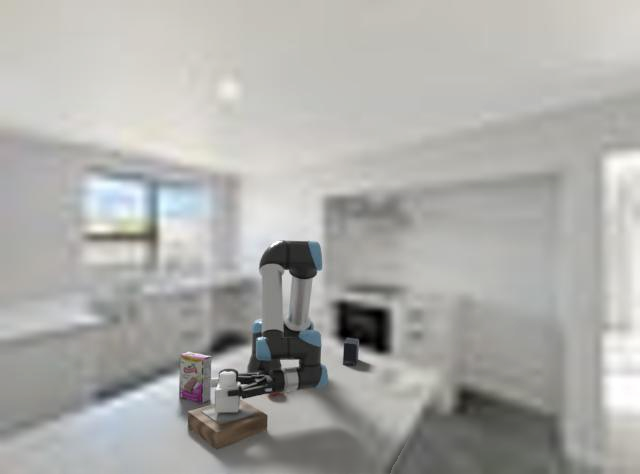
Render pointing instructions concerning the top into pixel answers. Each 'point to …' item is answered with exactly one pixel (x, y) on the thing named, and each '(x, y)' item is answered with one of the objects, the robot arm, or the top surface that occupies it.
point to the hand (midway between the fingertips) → (213, 388)
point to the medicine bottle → (226, 381)
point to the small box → (350, 351)
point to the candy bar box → (195, 377)
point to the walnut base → (227, 424)
